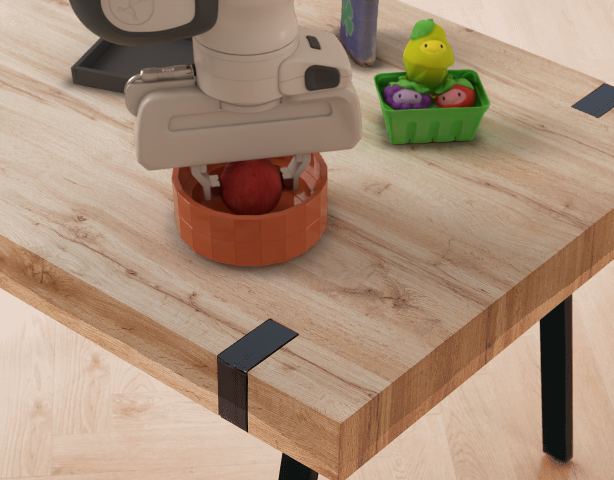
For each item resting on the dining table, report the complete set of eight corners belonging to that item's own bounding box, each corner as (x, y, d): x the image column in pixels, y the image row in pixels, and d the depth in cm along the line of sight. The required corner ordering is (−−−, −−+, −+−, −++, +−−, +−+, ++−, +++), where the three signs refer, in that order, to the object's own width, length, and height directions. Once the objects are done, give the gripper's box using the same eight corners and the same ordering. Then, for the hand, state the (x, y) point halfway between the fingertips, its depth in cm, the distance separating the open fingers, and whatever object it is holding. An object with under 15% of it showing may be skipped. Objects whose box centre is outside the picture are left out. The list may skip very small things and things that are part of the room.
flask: (378, 66, 126) (383, -20, 119) (354, 69, 126) (357, -18, 118) (357, 29, 133) (360, -55, 126) (334, 31, 132) (335, -53, 125)
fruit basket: (381, 152, 113) (387, 56, 105) (368, 107, 119) (373, 13, 112) (486, 147, 115) (499, 52, 107) (468, 103, 121) (480, 11, 114)
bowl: (152, 252, 99) (146, 200, 95) (210, 168, 109) (207, 118, 105) (299, 285, 97) (299, 232, 93) (344, 195, 107) (346, 145, 103)
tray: (72, 83, 120) (70, 67, 119) (124, 29, 130) (122, 14, 128) (200, 108, 118) (199, 92, 116) (242, 51, 127) (242, 36, 126)
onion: (214, 232, 101) (209, 161, 95) (230, 196, 105) (226, 126, 100) (274, 240, 100) (273, 170, 95) (288, 204, 104) (288, 135, 99)
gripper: (125, 90, 87) (141, 226, 96) (370, 68, 91) (363, 199, 100) (118, 52, 91) (134, 185, 100) (352, 33, 96) (347, 161, 105)
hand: (251, 192), depth 100 cm, fingers closed on onion, 6 cm apart
